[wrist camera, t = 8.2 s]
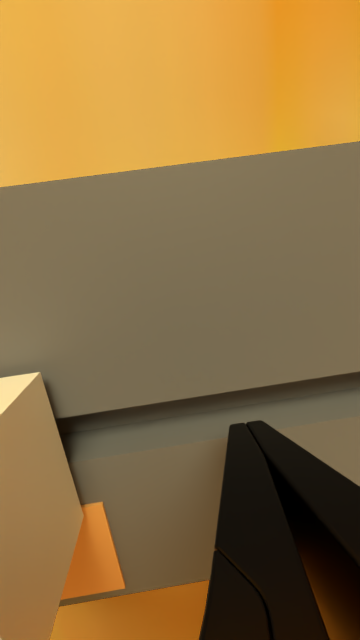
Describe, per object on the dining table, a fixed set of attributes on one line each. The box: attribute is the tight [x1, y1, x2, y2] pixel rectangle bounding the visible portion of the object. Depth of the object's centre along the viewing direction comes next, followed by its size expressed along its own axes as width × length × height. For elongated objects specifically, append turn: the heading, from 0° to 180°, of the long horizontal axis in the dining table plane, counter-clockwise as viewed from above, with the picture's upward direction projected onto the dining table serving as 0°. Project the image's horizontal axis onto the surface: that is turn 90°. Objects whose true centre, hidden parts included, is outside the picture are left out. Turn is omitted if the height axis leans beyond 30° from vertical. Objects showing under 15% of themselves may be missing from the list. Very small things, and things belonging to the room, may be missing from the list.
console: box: [0, 141, 360, 607], centre depth 10 cm, size 20×14×3 cm
